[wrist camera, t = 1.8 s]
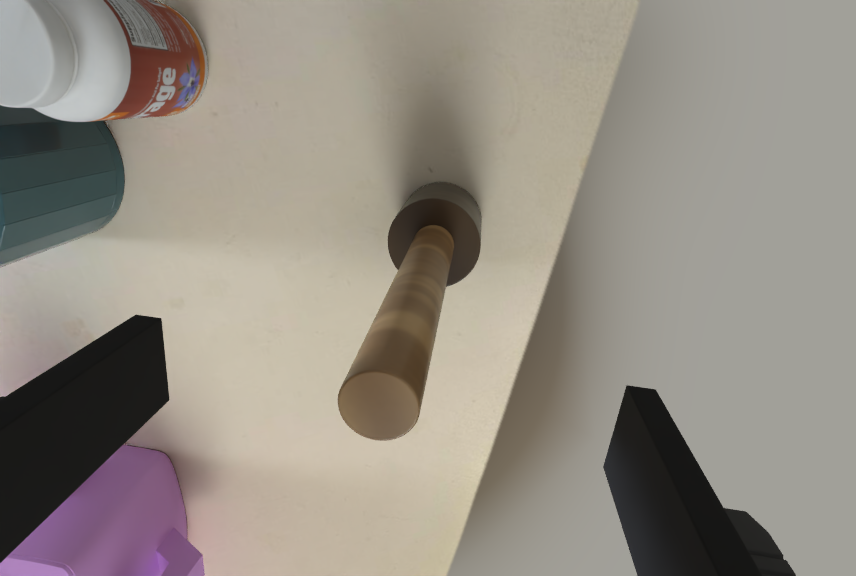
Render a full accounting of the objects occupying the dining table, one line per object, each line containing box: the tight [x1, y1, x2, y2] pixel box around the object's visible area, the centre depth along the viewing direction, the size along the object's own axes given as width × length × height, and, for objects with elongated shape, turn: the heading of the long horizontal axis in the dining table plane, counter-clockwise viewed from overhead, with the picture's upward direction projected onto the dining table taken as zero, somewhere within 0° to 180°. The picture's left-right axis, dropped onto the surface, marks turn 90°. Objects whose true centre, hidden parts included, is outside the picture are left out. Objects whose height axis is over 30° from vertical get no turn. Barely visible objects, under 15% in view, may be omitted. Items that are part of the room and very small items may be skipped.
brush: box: [338, 182, 481, 440], centre depth 23 cm, size 5×5×20 cm
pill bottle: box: [0, 0, 208, 122], centre depth 25 cm, size 6×6×11 cm
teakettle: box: [0, 445, 205, 576], centre depth 38 cm, size 17×17×12 cm
